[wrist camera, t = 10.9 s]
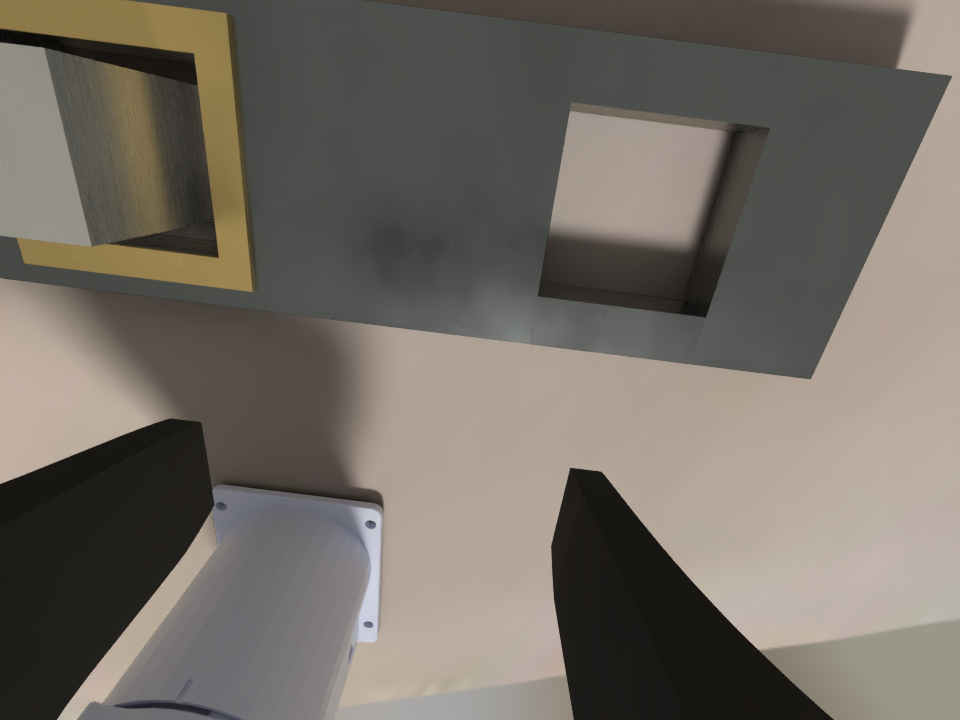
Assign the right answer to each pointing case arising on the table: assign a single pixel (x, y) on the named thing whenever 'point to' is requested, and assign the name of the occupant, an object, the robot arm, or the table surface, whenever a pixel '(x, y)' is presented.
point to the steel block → (97, 150)
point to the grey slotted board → (491, 173)
